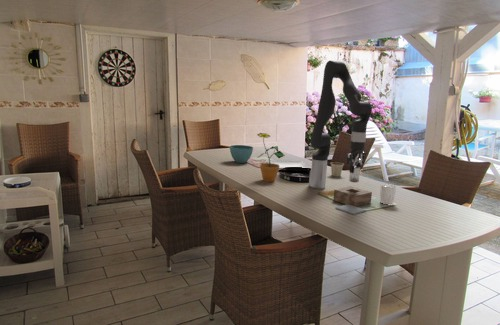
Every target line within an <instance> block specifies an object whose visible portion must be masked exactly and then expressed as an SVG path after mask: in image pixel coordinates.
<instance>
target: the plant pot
mask: <svg viewBox="0 0 500 325" xmlns="http://www.w3.org/2000/svg"><path fill="white" fill-rule="evenodd" d="M229 150H230V155H231V158H232V160H234V162H235V163H237V164H245V163H247V162H248V161H249V160H250V158H251V157H252V154H253V152H254V147H253V146H250V145H245V144H244V145H242V144H235V145H230V146H229Z"/></svg>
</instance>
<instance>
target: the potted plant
mask: <svg viewBox="0 0 500 325" xmlns="http://www.w3.org/2000/svg"><path fill="white" fill-rule="evenodd" d="M256 135H257V136H258V137H259V138H262V140H263V147H264V150H265V151H264V152H263V153H261V154H260V155H259V156H257V157H256V158H257V159H258V158H260V157H262V156H263V155H264V154H266V155H267V158H268V160H269V162H266V163H260V164H259V167H260V172H261V176H262V180H263V181H264V182H267V183H270V182H272V183H273V182H275V181H276V178H277V174H278V172H279V171H278V169H279V165H277V164H272V163H270V159H271V157H272V156H273V155H275V156H276V157H277V158H278V159H281V158H284V157H285V156H286V155H285V154H284V153H283V152H282V151H281V150H279V147H278V145H276V146H271V147H270V148H266V144H265V139H268V138H271V135H269V134H268V133H263V132H260V133H257V134H256ZM273 149H274V151H273V153H272V154H271V155H270V156H269V152H268V151H270V150H273ZM275 151H276V152H275Z"/></svg>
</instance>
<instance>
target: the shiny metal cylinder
mask: <svg viewBox="0 0 500 325" xmlns="http://www.w3.org/2000/svg"><path fill="white" fill-rule="evenodd" d="M360 173H361V170H360V167H359V166H357V165H354V173H350V172H349V177H348V178H349V180H348V181H349V182H351V183H359V182H360V175H361V174H360Z"/></svg>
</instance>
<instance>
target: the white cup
mask: <svg viewBox="0 0 500 325" xmlns="http://www.w3.org/2000/svg"><path fill="white" fill-rule="evenodd" d="M396 190H397V185H395V184H393V183H381V184H380V192H379V203H380V202H381V203H383V204H382V205H384V204H393V205H394V202H395V196H396ZM381 203H380V204H381Z"/></svg>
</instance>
